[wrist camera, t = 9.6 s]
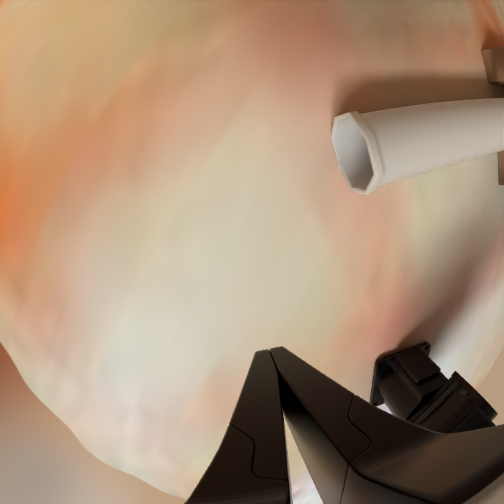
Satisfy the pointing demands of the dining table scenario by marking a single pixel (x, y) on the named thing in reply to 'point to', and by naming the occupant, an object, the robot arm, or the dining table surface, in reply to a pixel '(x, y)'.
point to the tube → (414, 139)
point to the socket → (500, 73)
